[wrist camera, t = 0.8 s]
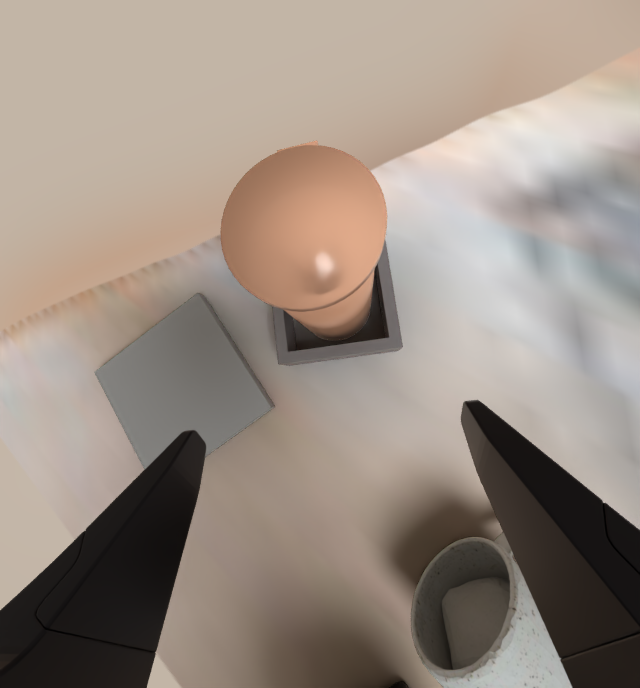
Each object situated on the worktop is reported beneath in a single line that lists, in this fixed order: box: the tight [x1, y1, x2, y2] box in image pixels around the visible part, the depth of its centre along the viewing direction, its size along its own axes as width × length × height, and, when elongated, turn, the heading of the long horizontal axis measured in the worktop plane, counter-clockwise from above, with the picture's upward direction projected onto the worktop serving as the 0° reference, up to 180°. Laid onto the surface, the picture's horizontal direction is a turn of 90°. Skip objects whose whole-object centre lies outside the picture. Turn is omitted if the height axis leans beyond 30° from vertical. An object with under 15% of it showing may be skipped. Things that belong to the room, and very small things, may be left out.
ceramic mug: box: [411, 532, 572, 688], centre depth 16 cm, size 11×8×8 cm
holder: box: [272, 241, 403, 366], centre depth 22 cm, size 9×9×3 cm
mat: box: [94, 293, 275, 469], centre depth 24 cm, size 12×12×1 cm
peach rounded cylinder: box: [221, 141, 387, 341], centre depth 17 cm, size 8×7×13 cm
